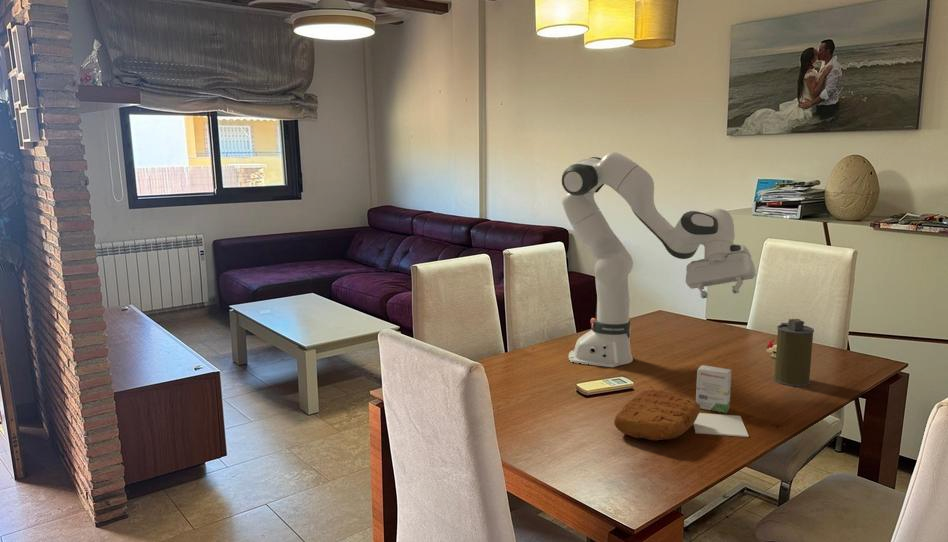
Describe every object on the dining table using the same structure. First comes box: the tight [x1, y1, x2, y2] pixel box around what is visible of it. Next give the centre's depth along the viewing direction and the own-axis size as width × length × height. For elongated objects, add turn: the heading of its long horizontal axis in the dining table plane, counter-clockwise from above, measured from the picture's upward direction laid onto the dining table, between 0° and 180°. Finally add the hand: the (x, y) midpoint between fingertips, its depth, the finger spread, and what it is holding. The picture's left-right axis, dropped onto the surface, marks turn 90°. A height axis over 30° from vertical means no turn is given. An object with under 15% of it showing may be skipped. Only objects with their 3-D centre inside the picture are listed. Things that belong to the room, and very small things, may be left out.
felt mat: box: [692, 412, 750, 438], centre depth 173 cm, size 13×13×1 cm
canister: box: [773, 318, 815, 387], centre depth 203 cm, size 11×10×20 cm
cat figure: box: [766, 337, 777, 359], centre depth 233 cm, size 10×9×25 cm
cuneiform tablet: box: [613, 389, 701, 441], centre depth 169 cm, size 22×17×8 cm
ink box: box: [695, 364, 732, 414], centre depth 183 cm, size 8×5×12 cm, turn 57°
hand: (719, 294), depth 193 cm, fingers open, 8 cm apart
